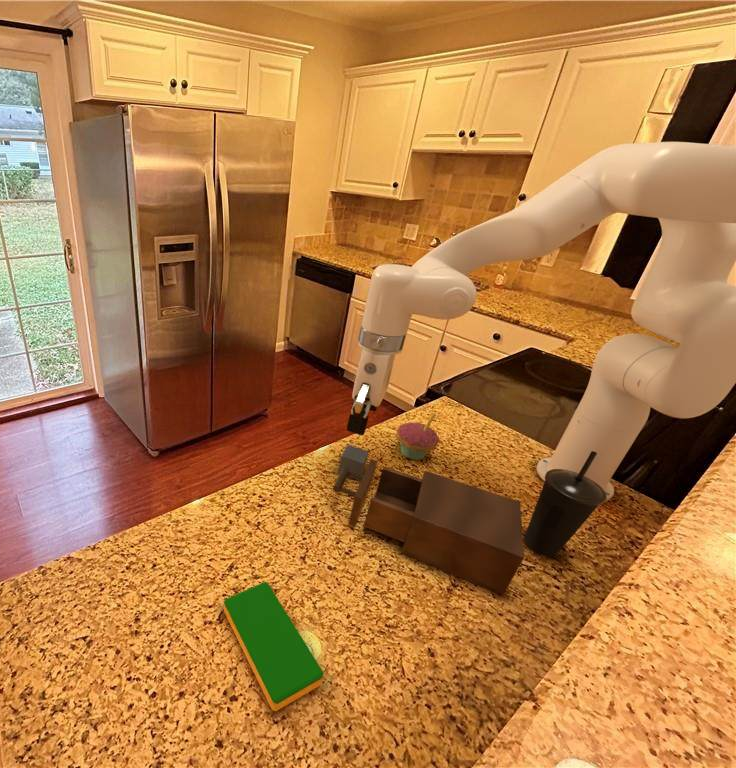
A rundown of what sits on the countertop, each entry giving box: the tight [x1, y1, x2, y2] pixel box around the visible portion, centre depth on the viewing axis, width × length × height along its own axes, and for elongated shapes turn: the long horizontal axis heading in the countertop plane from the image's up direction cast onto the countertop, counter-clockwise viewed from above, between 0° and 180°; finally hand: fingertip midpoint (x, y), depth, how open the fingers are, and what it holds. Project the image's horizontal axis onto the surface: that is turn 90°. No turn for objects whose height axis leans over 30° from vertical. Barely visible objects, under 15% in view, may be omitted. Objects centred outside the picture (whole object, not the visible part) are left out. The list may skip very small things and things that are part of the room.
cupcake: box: [395, 411, 441, 461], centre depth 89 cm, size 9×8×12 cm
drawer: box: [332, 458, 422, 544], centre depth 73 cm, size 18×11×7 cm, turn 60°
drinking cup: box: [523, 451, 607, 558], centre depth 65 cm, size 8×8×20 cm
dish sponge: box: [223, 581, 324, 712], centre depth 54 cm, size 7×14×2 cm, turn 25°
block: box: [337, 444, 370, 482], centre depth 85 cm, size 4×4×4 cm
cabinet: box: [401, 470, 525, 596], centre depth 68 cm, size 15×13×9 cm
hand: (361, 420), depth 80 cm, fingers open, 9 cm apart
